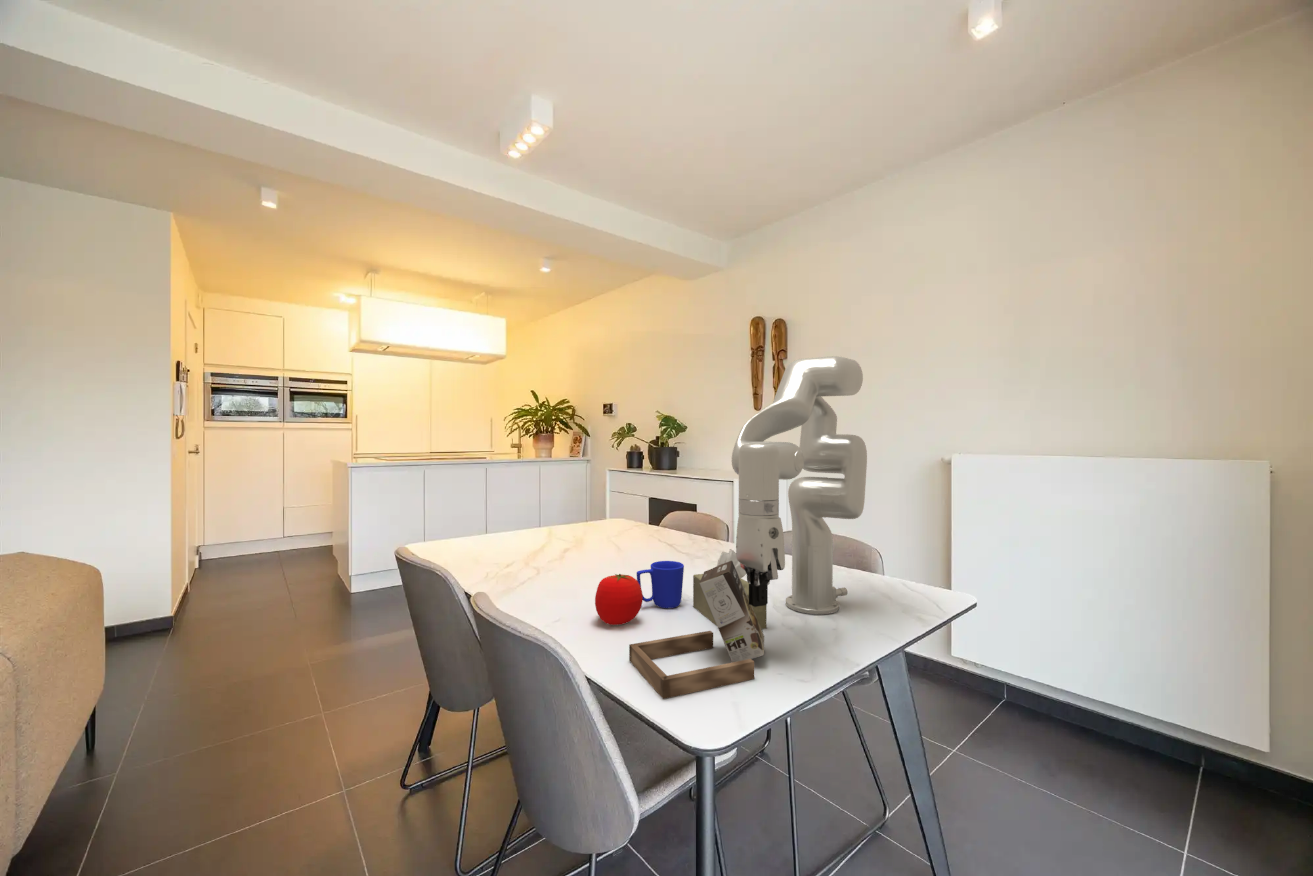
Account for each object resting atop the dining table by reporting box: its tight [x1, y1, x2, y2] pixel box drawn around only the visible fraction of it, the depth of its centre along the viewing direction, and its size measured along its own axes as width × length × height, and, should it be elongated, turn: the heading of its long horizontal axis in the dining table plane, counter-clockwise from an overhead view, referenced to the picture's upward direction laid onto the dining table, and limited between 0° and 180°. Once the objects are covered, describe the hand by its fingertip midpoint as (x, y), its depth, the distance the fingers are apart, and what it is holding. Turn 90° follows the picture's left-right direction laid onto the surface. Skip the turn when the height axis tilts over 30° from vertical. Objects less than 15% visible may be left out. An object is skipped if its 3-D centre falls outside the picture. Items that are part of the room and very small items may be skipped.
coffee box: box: [699, 561, 765, 663], centre depth 100 cm, size 9×6×16 cm
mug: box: [636, 560, 685, 609], centre depth 128 cm, size 8×12×10 cm
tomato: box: [594, 573, 644, 626], centre depth 117 cm, size 10×11×11 cm
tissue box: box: [692, 548, 768, 630], centre depth 121 cm, size 19×10×16 cm, turn 19°
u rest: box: [628, 630, 755, 700], centre depth 94 cm, size 17×15×3 cm
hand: (758, 604), depth 99 cm, fingers closed
